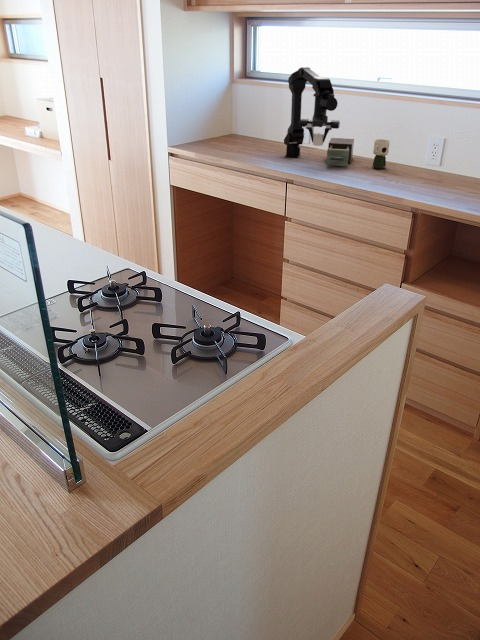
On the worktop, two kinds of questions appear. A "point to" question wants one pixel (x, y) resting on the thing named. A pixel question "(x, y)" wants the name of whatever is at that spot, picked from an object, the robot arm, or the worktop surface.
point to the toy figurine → (380, 153)
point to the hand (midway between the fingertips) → (317, 142)
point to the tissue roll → (318, 139)
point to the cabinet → (343, 142)
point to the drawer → (338, 155)
